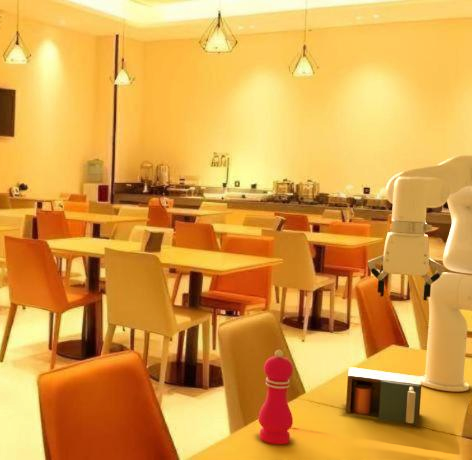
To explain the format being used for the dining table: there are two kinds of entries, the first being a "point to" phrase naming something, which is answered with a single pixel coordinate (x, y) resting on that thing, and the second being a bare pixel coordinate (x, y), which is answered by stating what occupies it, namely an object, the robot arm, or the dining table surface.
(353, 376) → the cabinet
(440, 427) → the dining table surface
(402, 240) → the robot arm
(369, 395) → the orange cylinder
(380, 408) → the sliding door
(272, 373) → the pepper mill
